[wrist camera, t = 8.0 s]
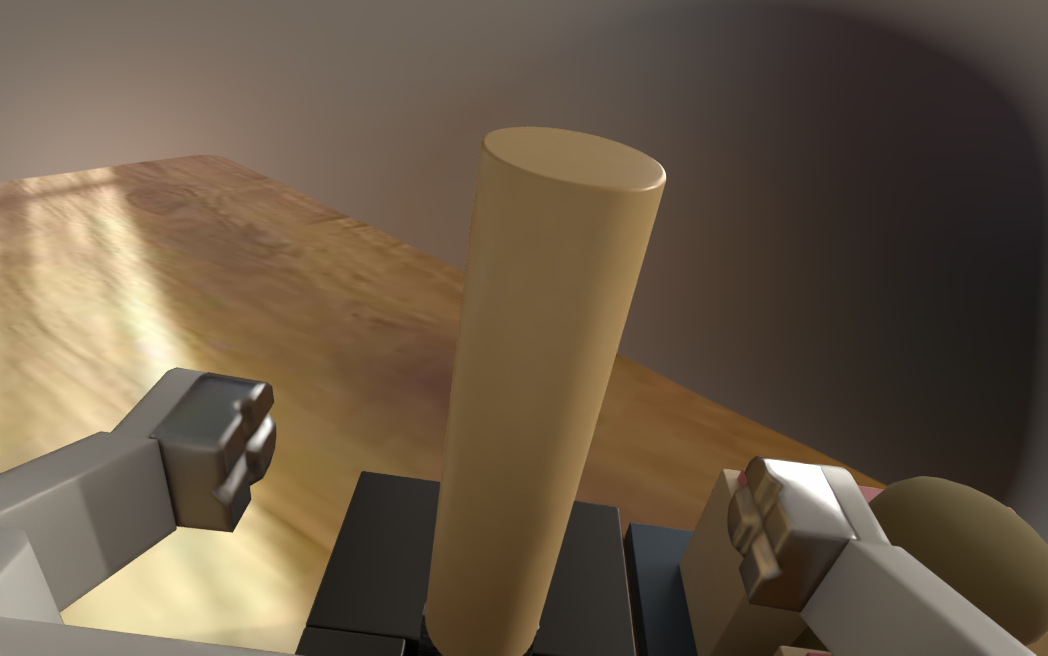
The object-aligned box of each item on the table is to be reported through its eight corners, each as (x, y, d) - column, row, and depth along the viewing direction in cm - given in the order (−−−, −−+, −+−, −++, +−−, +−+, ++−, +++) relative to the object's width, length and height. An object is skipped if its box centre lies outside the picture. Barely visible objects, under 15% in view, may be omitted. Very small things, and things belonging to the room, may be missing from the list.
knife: (390, 870, 18) (464, 165, 7) (407, 775, 20) (485, 115, 9) (475, 880, 18) (688, 202, 7) (483, 784, 20) (656, 144, 9)
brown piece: (719, 706, 23) (845, 508, 17) (783, 609, 27) (903, 422, 21) (883, 852, 20) (1106, 670, 14) (928, 718, 24) (1114, 533, 18)
